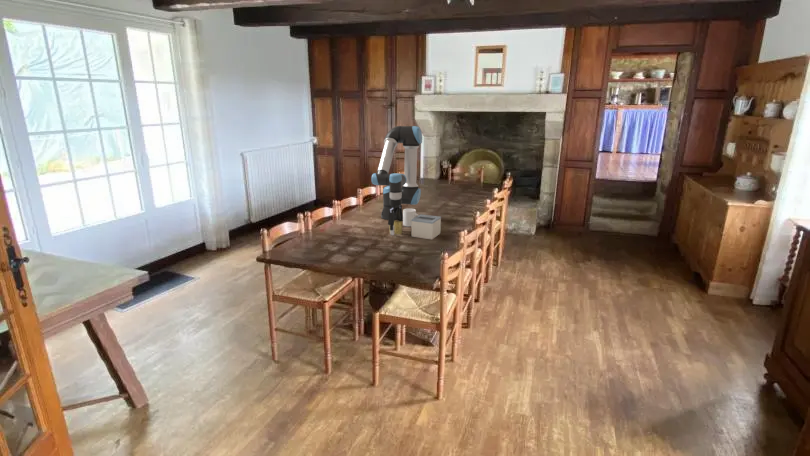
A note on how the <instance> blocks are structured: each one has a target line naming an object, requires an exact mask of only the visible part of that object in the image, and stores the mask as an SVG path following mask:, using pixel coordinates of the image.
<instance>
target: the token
mask: <svg viewBox="0 0 810 456" xmlns="http://www.w3.org/2000/svg"><path fill="white" fill-rule="evenodd" d="M388 227H389V229H388V231H389V234H390V225H388ZM402 234H403V221H398V220H394V235H402Z"/></svg>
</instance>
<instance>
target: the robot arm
mask: <svg viewBox="0 0 810 456" xmlns="http://www.w3.org/2000/svg"><path fill="white" fill-rule="evenodd" d="M383 139H384V140H383V144H384V145H383V149H382V152H381V156H380V160H379V164H378V166H377V171H376V172H375V173H372V174H371V181H370V182H371V184H373V185H375V186H384V187H383V189H382V205H383V207H382V211H381V213H380V217H381V219H382V220H387V225H388V226H389V225H390V233H389V235H390V236H395V234H394V220H395V221H402V222H403V205H412V206H413V205H415V206H416V205H417V204H418V203H419V202H420V199H421V194H422V193H421V192H422V189H421V188H419V185H418V183H417V176H418V175H417V173H418V172H417V169H418V168H417V167H418V148H419V147H420V145H421V144H422V143H423V133H422V130H421V128H420V127H419V126H417V125H416V126H415V125H396V126H394V127H392V128H390V130H389V131H388V132H387V133H386V135H385V136H384V138H383ZM399 144H402V147H403V148H404V168H403V171H404V172H403V173H398V172H397V173H390V168H391V165H392V161H393V157H394V152H395V149H396V147H397V146H398V145H399Z"/></svg>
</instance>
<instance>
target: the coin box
mask: <svg viewBox="0 0 810 456" xmlns="http://www.w3.org/2000/svg"><path fill="white" fill-rule="evenodd" d="M441 220H442V216H437V215H429V214H421V213H420V214H418V216H416V217H415V218H413V219H412V227H410V228H411V237H413V238H420V239H427V240H434V239H435V238H436V237H437V236H438V235H439V236H440V234H441V231H442V230H441V226H442V221H441Z"/></svg>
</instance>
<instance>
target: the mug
mask: <svg viewBox="0 0 810 456" xmlns="http://www.w3.org/2000/svg"><path fill="white" fill-rule="evenodd" d="M402 214H403V219H402V220H403V221H402V226H403V227H406V228H407V227H408V228H411V227H412V219H413V218H415V217H417V216H418V215H419V214H418V213H417V209H415V208H404V209H402Z"/></svg>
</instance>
